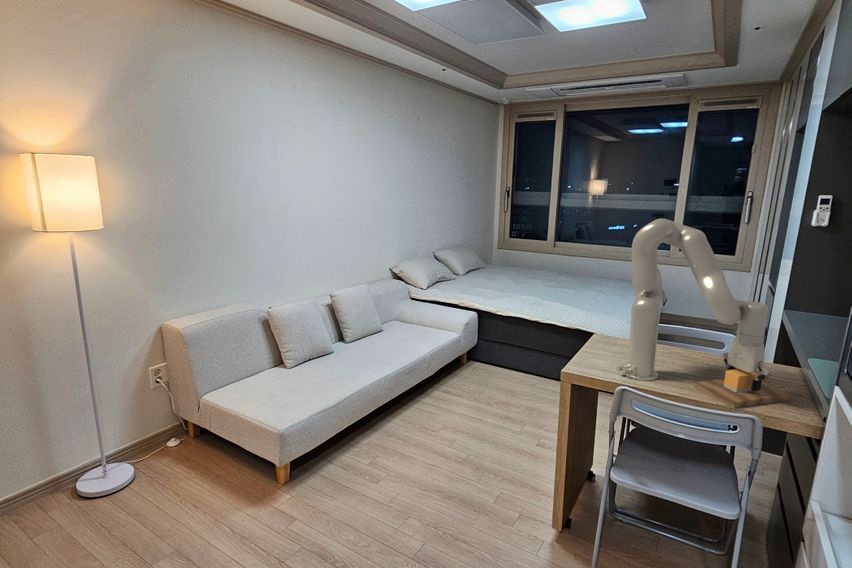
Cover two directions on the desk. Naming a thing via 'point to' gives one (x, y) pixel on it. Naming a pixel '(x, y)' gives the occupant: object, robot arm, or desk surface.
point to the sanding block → (738, 380)
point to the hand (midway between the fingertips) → (742, 384)
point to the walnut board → (742, 394)
